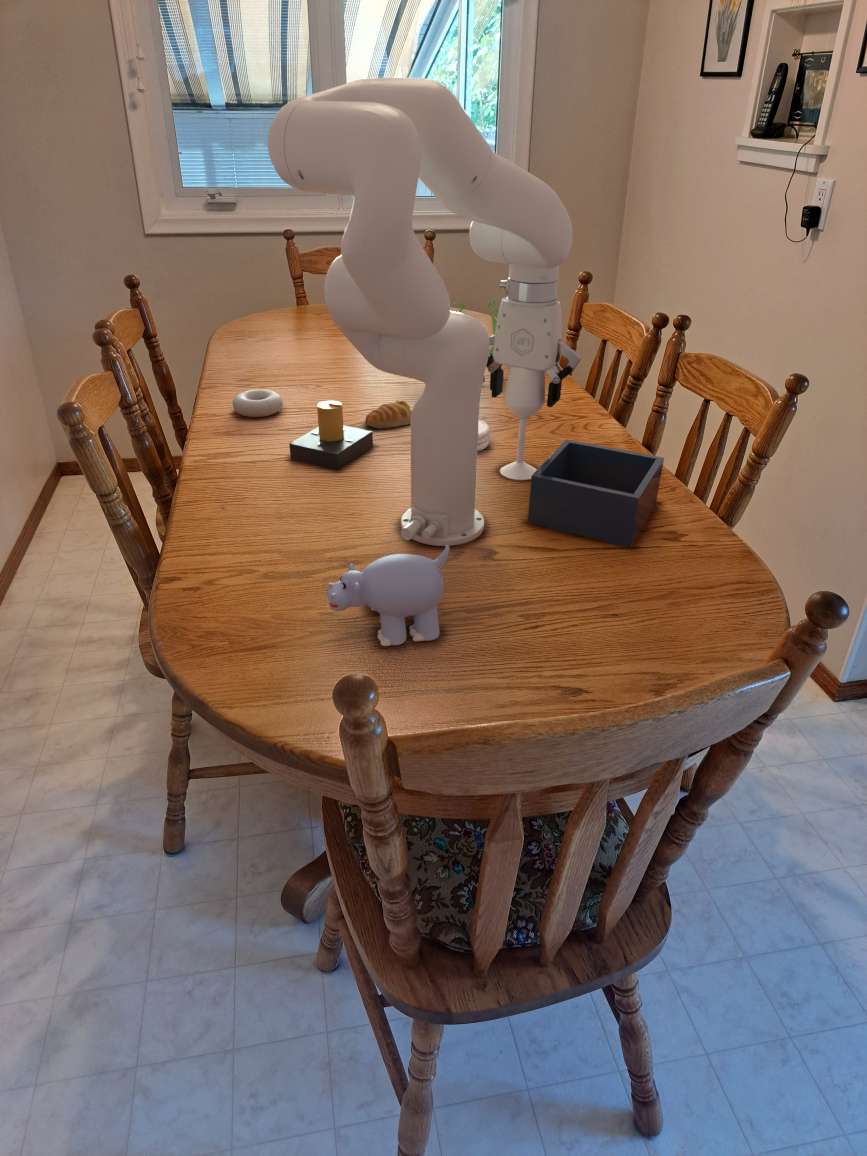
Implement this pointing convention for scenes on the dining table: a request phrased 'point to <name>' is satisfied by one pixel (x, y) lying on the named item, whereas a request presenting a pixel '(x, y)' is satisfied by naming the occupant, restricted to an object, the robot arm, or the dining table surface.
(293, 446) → the panel
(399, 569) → the hippopotamus toy
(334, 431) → the tap knob
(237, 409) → the donut
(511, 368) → the champagne flute
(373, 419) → the pastry
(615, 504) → the basin
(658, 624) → the dining table surface
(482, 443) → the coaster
